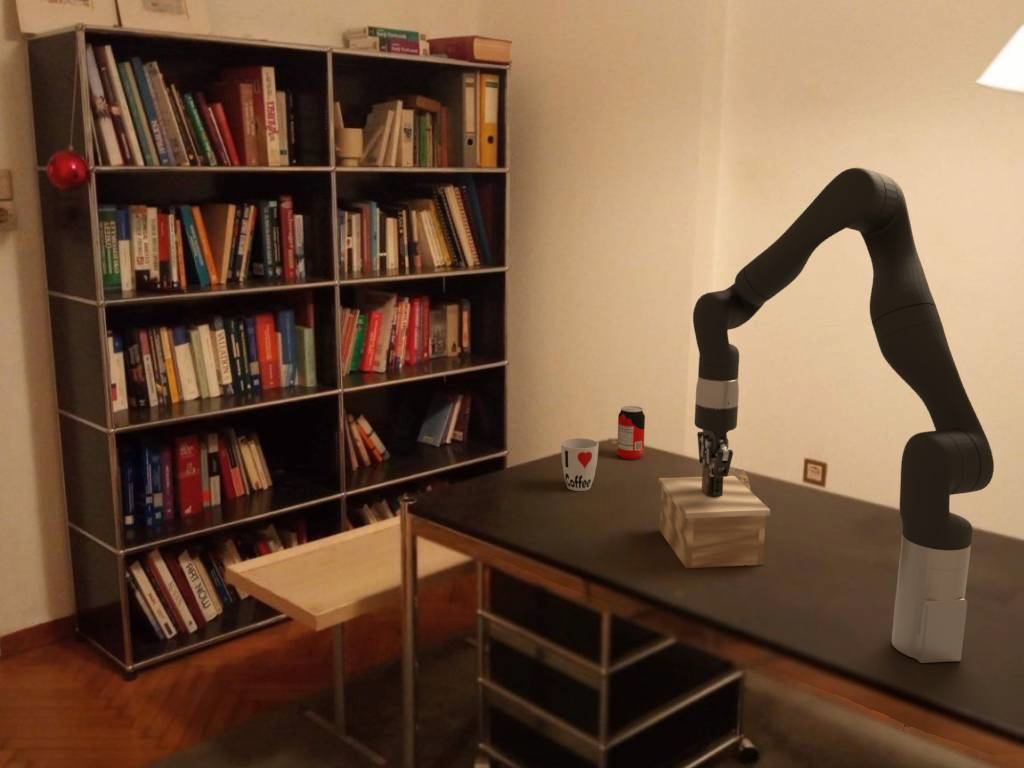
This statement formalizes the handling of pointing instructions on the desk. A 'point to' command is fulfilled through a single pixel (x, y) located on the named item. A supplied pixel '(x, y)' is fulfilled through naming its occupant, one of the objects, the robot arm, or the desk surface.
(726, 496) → the lid
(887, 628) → the desk surface
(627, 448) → the beverage can
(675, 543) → the box
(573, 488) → the cup
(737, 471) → the rock
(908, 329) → the robot arm
